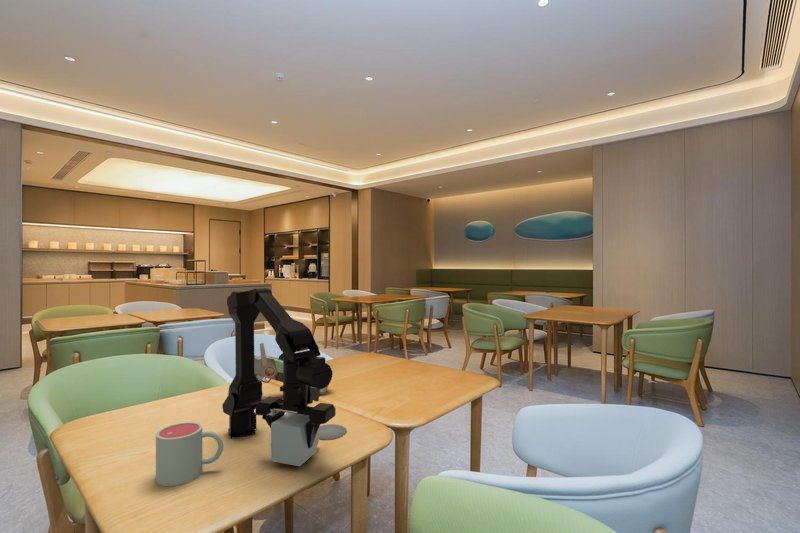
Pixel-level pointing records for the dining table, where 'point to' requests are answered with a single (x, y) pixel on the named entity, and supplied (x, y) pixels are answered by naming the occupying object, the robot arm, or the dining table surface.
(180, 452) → the mug
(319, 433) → the circle
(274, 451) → the gray-blue matte cube
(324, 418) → the robot arm
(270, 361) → the ray gun
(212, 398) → the dining table surface
